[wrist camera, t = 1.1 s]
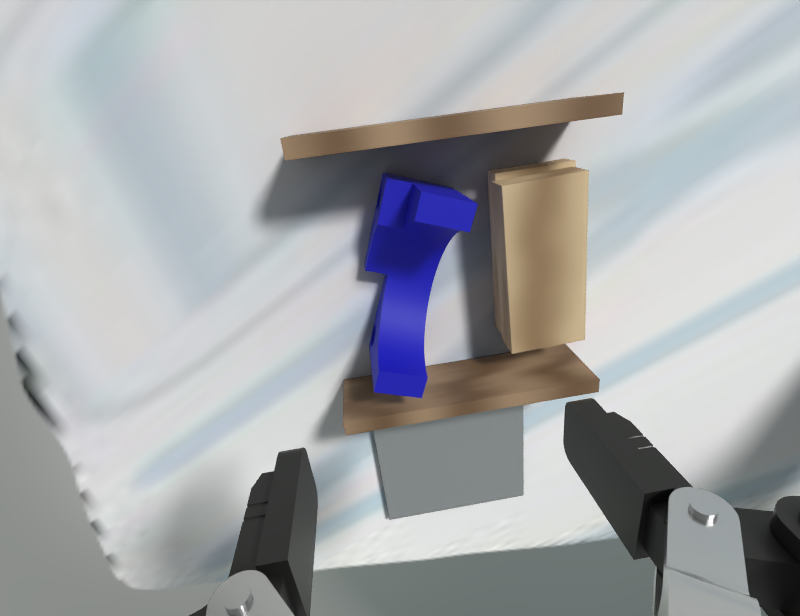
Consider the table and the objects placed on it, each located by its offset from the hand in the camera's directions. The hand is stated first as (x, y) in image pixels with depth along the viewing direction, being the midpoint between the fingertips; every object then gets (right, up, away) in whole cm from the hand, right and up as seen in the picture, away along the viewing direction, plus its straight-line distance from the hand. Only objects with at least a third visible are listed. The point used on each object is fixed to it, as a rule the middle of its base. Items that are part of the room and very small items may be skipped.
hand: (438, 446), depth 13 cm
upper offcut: (+8, +7, +15) cm, 18 cm away
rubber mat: (+3, -8, +23) cm, 24 cm away
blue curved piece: (-1, +7, +16) cm, 18 cm away
